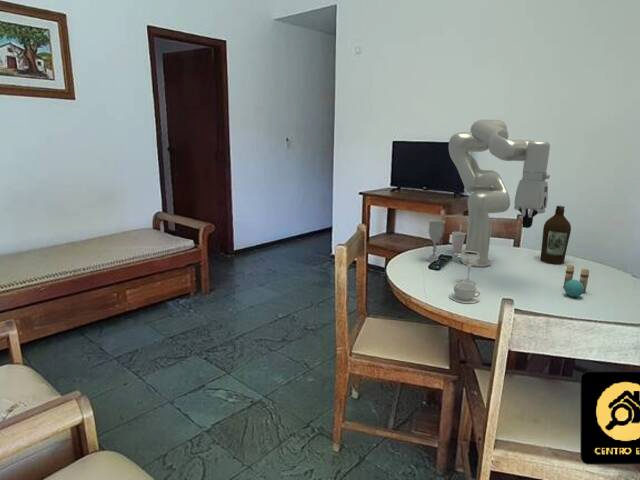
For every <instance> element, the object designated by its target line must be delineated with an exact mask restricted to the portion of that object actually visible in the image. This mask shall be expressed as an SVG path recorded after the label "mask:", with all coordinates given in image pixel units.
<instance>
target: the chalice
mask: <svg viewBox="0 0 640 480" xmlns="http://www.w3.org/2000/svg"><path fill="white" fill-rule="evenodd" d="M428 223H429V225H428V234H429V238H430V240H431V242H433V245H432V248H433V249H432V255H430V256H429V257H428V259H427V262H428V263H432V262H434V261H437V260H439V261H440V259H439V257H438V255H436V252H437V243H438V242H440V240H441V238H442V236H443V235H444V231H445V229H444V228H445V224H446V221H445V220H443V219H428Z"/></svg>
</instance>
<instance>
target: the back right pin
mask: <svg viewBox="0 0 640 480" xmlns="http://www.w3.org/2000/svg"><path fill="white" fill-rule="evenodd" d="M589 276H590V269H586V268H582V269H581V271H580V276H579V277H580V278H579V281H580V282H581V283H582V284H583V286H584V291H583V293H582V294H586V293H587V286H588V281H589Z"/></svg>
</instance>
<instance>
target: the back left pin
mask: <svg viewBox="0 0 640 480" xmlns="http://www.w3.org/2000/svg"><path fill="white" fill-rule="evenodd" d="M574 272H575V266H574V265H566V269H565V276H564V282H563V289H564V286H565V284H566V282H568V281H569V280H574Z"/></svg>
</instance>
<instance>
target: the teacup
mask: <svg viewBox="0 0 640 480" xmlns="http://www.w3.org/2000/svg"><path fill="white" fill-rule="evenodd" d="M476 293H478V295H475V294H476ZM480 295H481V292H480V290H477V285H475V284H470V283H464V282H461V281H459V282H455V283H454V284H453V292H451V293H450V294H449V295H448V297H449V298H450V299H451V300H452V301H454V302H458V303H464V304H475V303H478V302H480V297H479V296H480Z"/></svg>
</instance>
